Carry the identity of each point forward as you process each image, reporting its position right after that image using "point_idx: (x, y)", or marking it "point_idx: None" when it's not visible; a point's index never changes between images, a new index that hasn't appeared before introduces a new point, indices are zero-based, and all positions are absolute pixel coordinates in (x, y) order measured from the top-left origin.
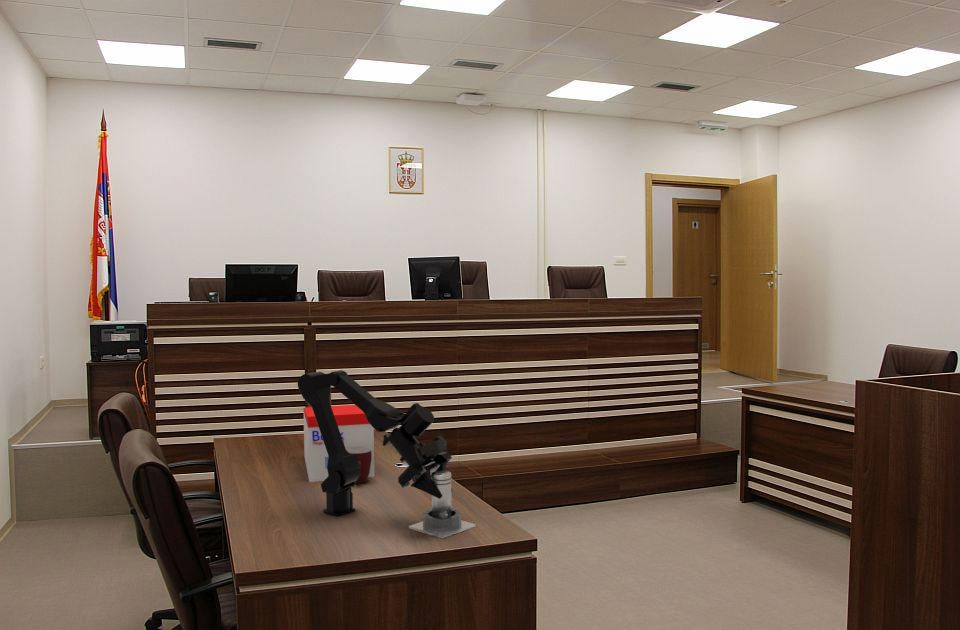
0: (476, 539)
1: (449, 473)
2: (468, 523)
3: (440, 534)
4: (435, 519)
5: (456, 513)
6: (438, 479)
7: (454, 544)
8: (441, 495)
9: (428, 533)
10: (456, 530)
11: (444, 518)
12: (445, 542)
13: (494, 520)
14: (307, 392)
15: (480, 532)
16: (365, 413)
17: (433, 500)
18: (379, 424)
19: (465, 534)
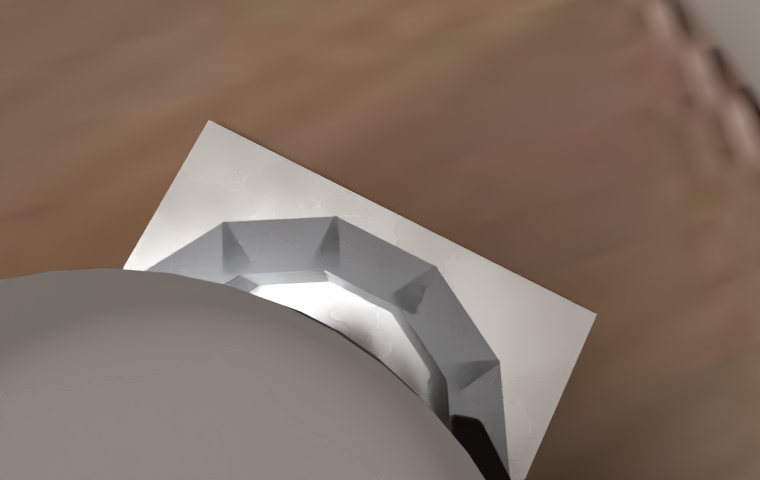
0: (518, 40)
1: (56, 343)
2: (201, 186)
3: (554, 343)
4: (504, 438)
5: (252, 267)
6: None
7: (677, 174)
8: (477, 424)
9: (520, 475)
10: (416, 236)
11: (457, 344)
12: (656, 259)
13: (10, 12)
14: None
15: (349, 51)
16: None
17: None
18: None
19: (428, 156)
